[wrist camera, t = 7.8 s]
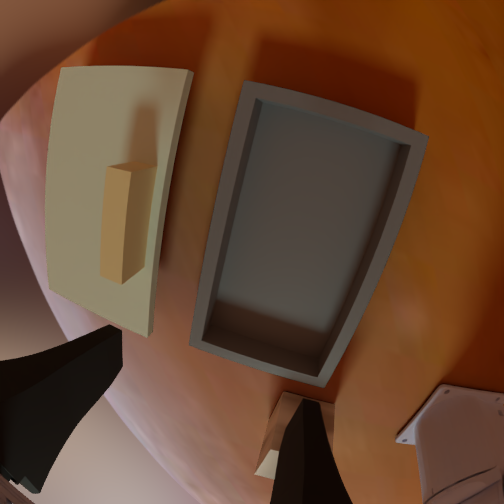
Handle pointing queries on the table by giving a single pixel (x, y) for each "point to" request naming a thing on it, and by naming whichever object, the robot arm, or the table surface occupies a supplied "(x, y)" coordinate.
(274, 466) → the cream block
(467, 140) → the table surface
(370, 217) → the grey storage tray
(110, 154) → the lid
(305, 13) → the table surface
